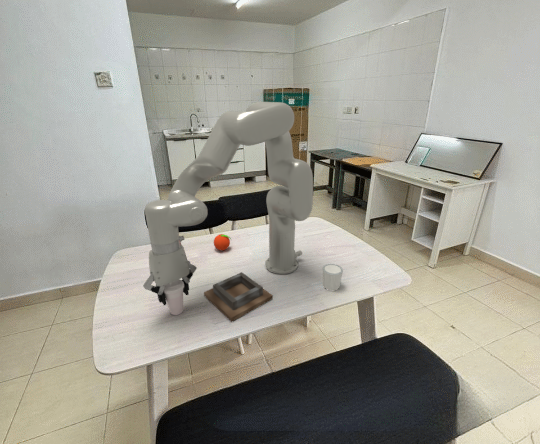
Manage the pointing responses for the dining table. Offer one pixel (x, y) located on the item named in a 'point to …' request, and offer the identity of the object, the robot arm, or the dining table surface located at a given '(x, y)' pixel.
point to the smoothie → (174, 296)
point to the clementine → (221, 242)
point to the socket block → (237, 296)
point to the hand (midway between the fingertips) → (174, 297)
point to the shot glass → (332, 276)
